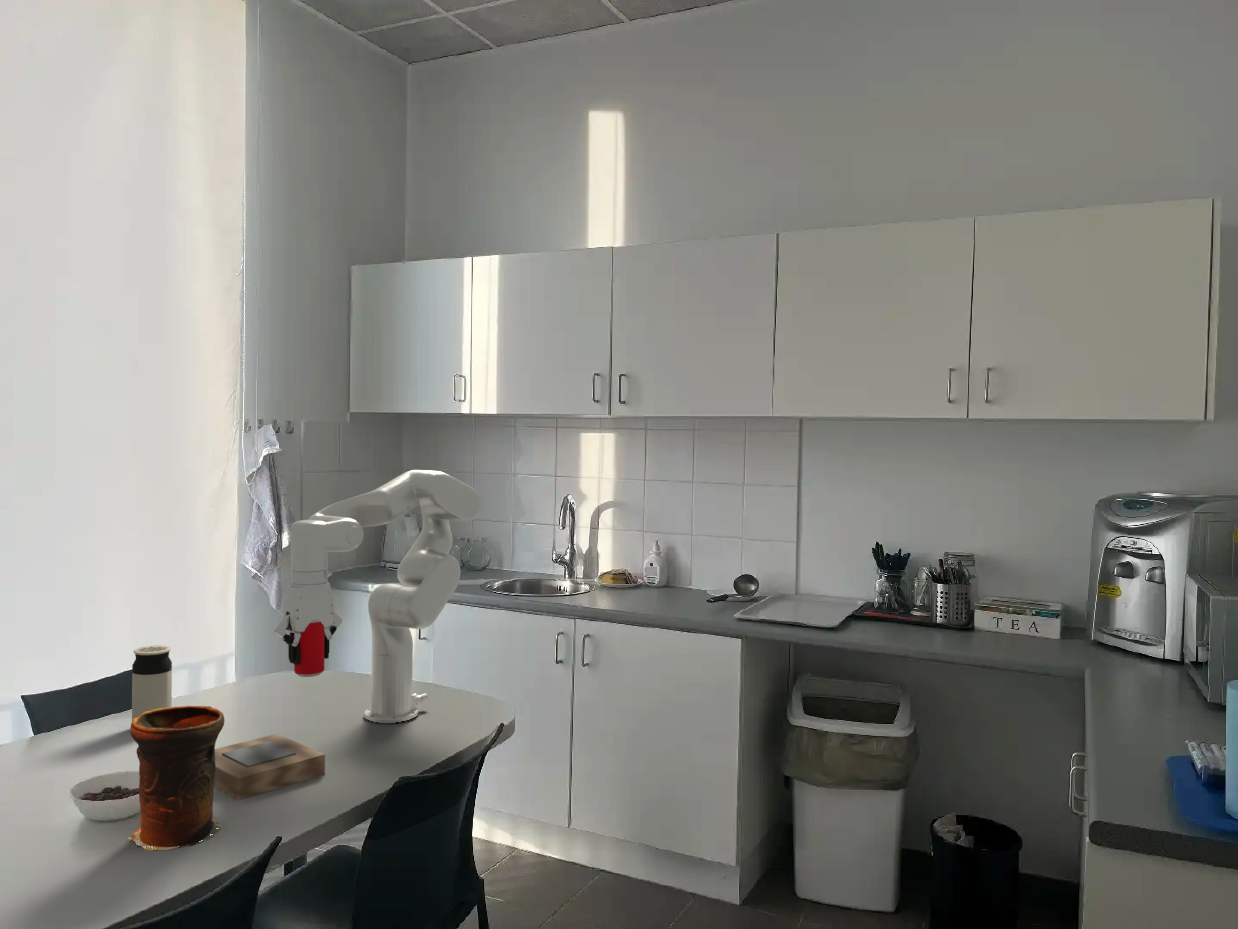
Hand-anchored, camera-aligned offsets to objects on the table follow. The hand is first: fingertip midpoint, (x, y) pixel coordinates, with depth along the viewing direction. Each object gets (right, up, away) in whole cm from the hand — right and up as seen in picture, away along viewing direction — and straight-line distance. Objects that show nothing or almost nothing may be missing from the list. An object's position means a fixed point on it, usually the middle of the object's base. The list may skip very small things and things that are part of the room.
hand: (309, 659), depth 205 cm
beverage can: (0, -3, 0) cm, 3 cm away
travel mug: (-38, -17, +9) cm, 43 cm away
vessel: (-8, -20, -45) cm, 50 cm away
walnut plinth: (-4, -19, -18) cm, 26 cm away
